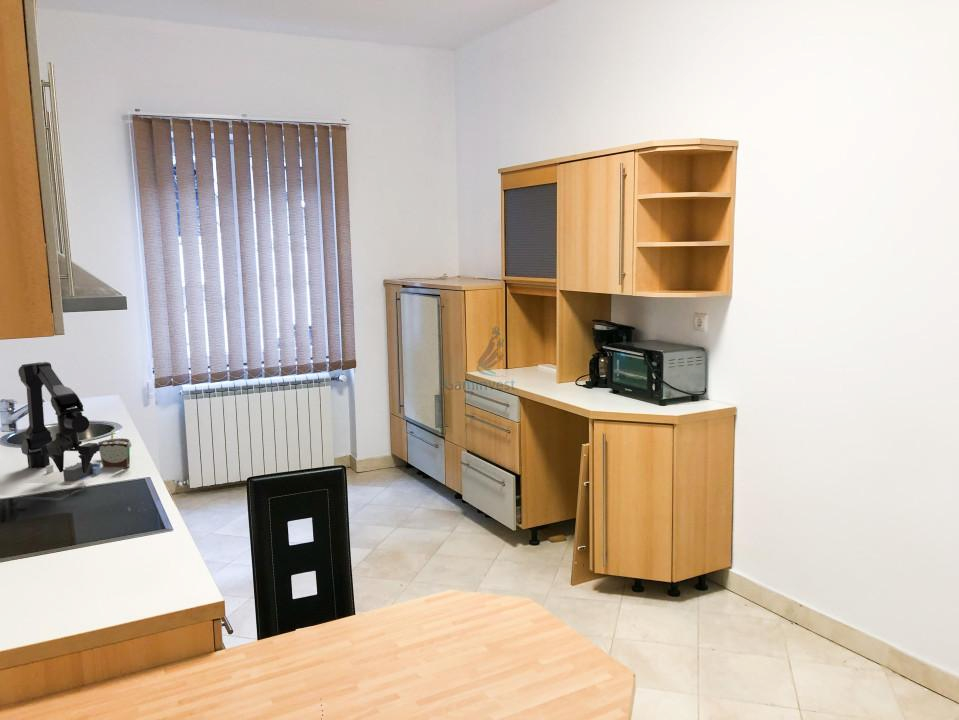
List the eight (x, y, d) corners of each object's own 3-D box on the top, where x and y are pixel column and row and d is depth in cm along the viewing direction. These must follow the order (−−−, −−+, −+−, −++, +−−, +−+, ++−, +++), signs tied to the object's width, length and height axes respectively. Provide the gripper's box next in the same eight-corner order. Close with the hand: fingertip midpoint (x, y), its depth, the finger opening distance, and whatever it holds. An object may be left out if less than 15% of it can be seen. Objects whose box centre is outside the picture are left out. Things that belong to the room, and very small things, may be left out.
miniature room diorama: (25, 484, 266) (24, 472, 265) (52, 473, 278) (50, 461, 277) (76, 486, 262) (75, 473, 261) (101, 474, 274) (100, 463, 274)
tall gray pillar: (64, 481, 265) (63, 469, 265) (82, 473, 274) (81, 462, 274) (74, 481, 265) (73, 470, 264) (92, 473, 273) (91, 462, 273)
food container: (140, 464, 287) (137, 437, 285) (131, 469, 281) (128, 442, 279) (109, 464, 288) (106, 438, 286) (99, 468, 282) (96, 442, 280)
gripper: (26, 433, 258) (32, 478, 261) (75, 435, 255) (80, 480, 257) (50, 425, 269) (55, 469, 272) (98, 426, 266) (102, 470, 268)
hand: (73, 472), depth 267 cm, fingers open, 9 cm apart
